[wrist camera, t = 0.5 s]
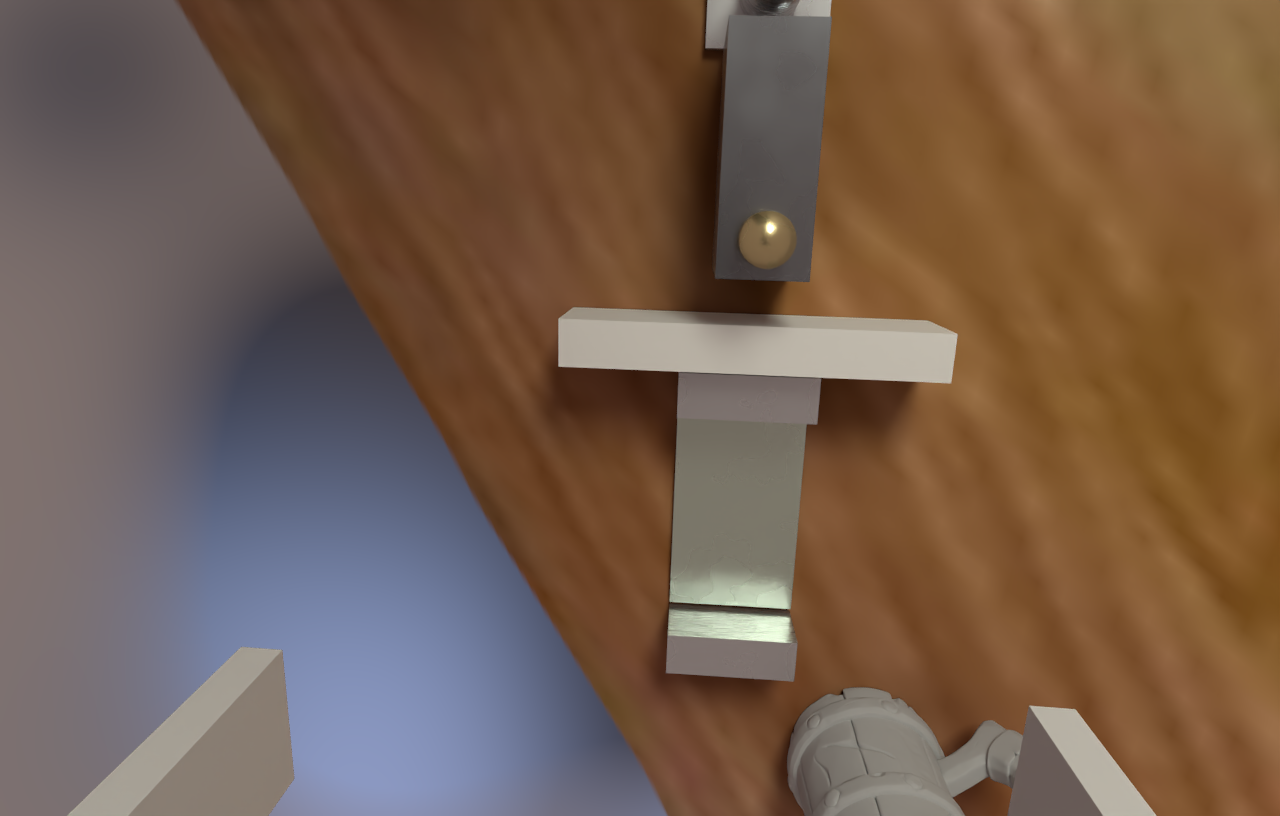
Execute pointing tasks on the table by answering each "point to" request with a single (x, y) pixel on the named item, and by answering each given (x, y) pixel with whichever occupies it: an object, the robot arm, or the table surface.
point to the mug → (888, 759)
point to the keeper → (737, 522)
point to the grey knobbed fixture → (755, 14)
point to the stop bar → (769, 146)
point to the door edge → (757, 344)
